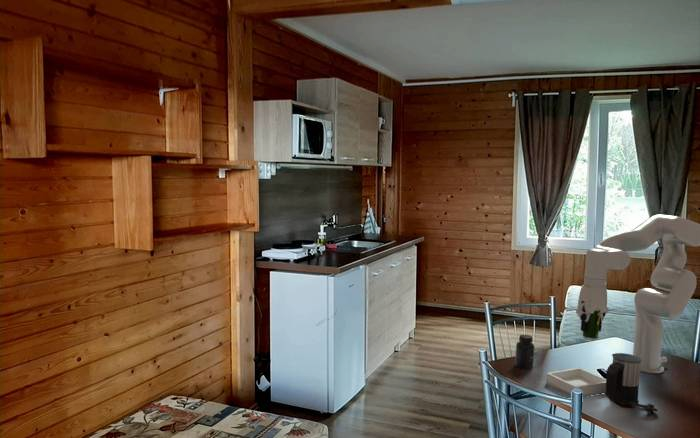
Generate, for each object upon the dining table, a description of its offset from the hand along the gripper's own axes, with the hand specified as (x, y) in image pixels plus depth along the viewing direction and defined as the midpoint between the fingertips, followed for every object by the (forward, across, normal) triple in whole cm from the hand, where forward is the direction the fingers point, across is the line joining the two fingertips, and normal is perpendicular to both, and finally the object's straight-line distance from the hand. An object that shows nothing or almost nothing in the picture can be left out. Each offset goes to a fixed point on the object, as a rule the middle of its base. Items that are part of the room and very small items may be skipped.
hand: (590, 330), depth 206 cm
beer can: (+3, 0, 0) cm, 3 cm away
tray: (+18, +11, +7) cm, 22 cm away
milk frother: (+18, +4, +24) cm, 30 cm away
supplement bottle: (+18, +14, -17) cm, 29 cm away
